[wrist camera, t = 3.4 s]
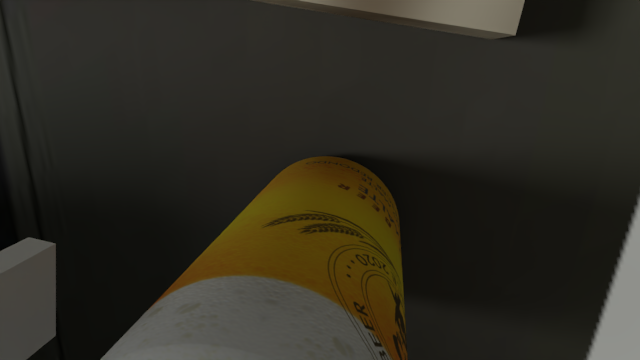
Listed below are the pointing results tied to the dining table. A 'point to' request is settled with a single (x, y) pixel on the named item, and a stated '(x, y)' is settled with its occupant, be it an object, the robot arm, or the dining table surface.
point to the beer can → (289, 278)
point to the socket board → (427, 13)
